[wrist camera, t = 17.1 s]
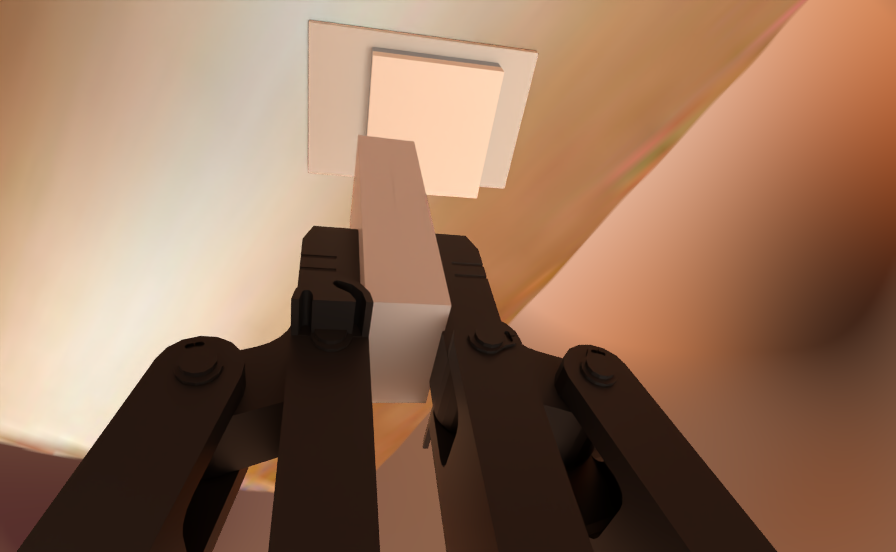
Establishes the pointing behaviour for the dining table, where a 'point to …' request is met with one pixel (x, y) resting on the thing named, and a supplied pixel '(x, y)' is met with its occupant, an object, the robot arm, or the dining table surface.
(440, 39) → the mat
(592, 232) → the dining table surface
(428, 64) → the tile
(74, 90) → the dining table surface
